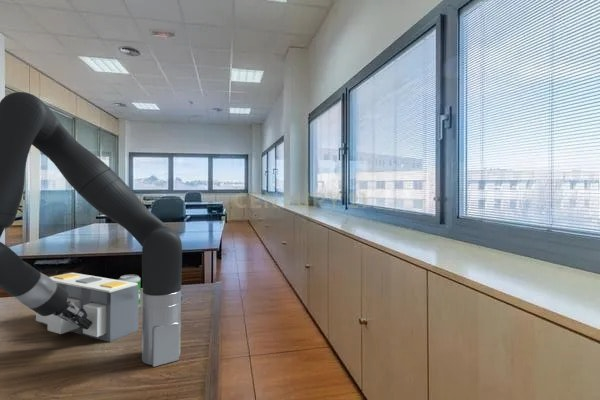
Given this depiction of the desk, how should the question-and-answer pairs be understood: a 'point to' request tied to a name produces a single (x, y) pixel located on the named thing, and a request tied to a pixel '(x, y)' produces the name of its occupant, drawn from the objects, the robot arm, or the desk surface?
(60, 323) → the middle button
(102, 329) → the near button
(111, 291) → the button panel
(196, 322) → the desk surface
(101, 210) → the robot arm
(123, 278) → the soda can
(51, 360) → the desk surface
